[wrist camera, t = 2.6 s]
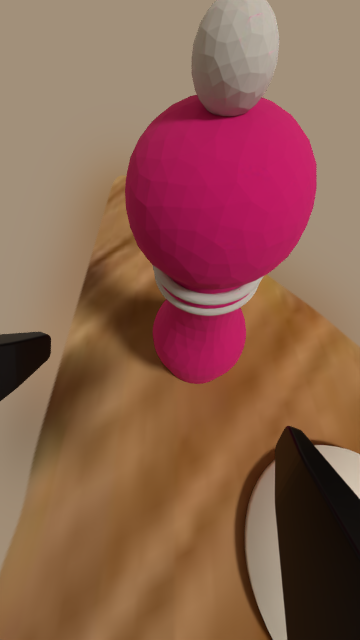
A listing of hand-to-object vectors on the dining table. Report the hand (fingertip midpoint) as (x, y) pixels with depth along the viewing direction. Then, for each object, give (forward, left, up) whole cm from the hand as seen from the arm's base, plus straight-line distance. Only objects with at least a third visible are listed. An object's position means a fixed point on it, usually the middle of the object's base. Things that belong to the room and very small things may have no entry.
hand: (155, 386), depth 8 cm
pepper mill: (+6, -2, -13) cm, 14 cm away
